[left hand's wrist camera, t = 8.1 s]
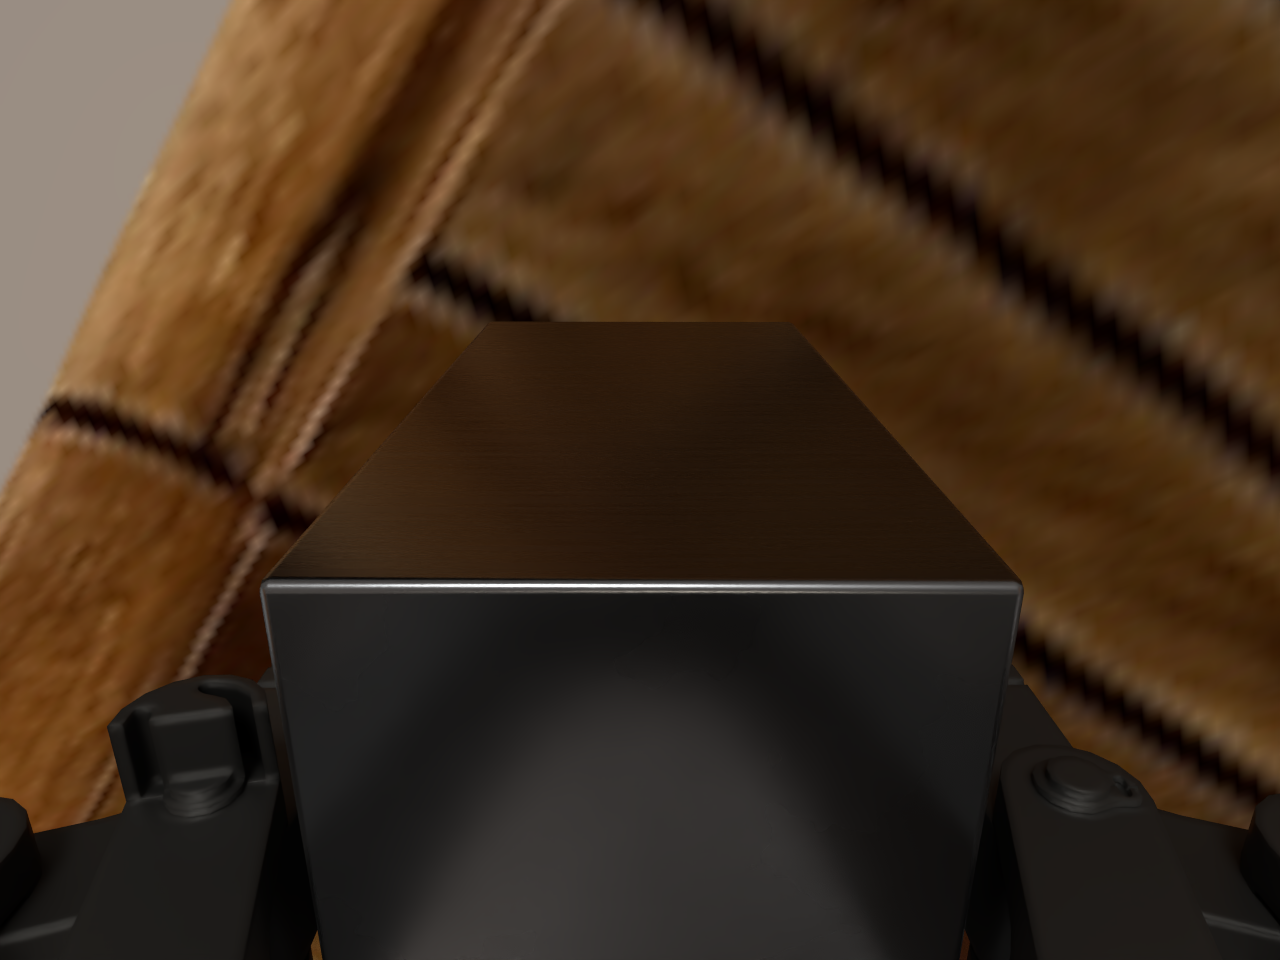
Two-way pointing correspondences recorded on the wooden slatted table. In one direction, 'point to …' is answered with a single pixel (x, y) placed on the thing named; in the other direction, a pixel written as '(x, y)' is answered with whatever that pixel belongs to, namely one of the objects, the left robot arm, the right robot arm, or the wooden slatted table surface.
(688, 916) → the bar
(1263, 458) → the wooden slatted table surface
